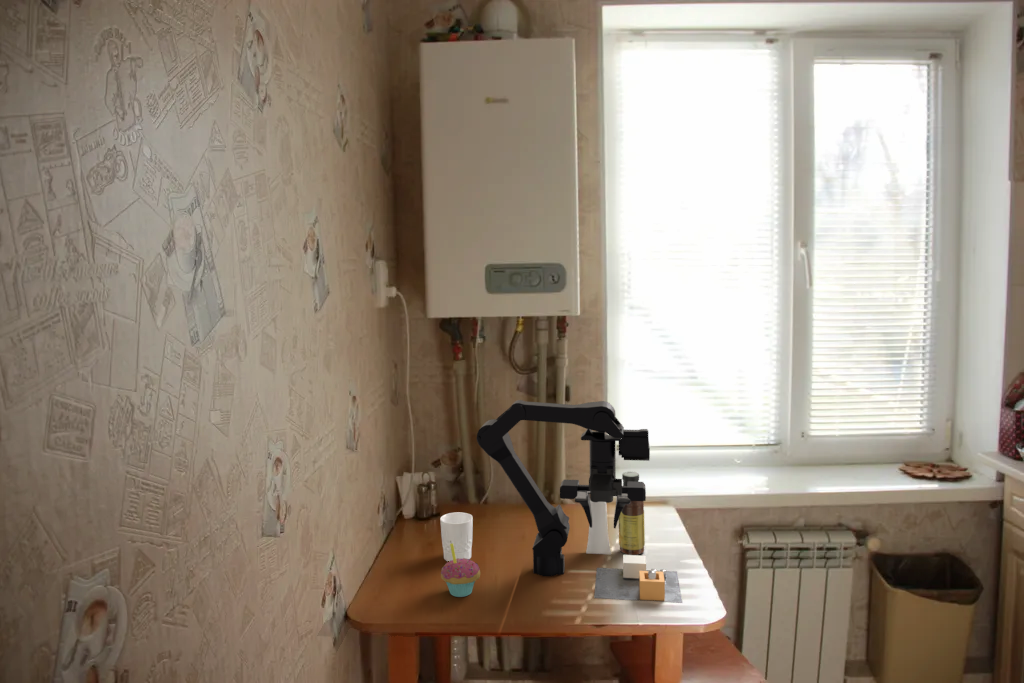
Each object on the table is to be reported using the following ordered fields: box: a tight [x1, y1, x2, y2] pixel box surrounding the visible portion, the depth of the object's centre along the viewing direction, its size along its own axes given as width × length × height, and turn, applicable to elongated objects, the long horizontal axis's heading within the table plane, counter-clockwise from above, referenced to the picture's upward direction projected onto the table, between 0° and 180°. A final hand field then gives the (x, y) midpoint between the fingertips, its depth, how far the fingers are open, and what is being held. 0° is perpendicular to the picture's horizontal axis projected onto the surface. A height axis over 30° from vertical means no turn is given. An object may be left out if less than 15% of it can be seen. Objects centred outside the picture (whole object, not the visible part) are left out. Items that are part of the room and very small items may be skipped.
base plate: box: [593, 567, 683, 604], centre depth 155 cm, size 18×15×6 cm
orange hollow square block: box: [639, 570, 665, 601], centre depth 150 cm, size 5×5×4 cm
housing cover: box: [622, 554, 647, 578], centre depth 159 cm, size 5×4×3 cm
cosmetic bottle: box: [585, 500, 612, 555], centre depth 174 cm, size 6×6×22 cm
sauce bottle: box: [618, 471, 646, 555], centre depth 174 cm, size 6×6×20 cm
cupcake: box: [440, 541, 481, 598], centre depth 155 cm, size 9×8×12 cm
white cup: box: [439, 511, 474, 562], centre depth 174 cm, size 8×8×10 cm
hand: (602, 527), depth 159 cm, fingers open, 5 cm apart
